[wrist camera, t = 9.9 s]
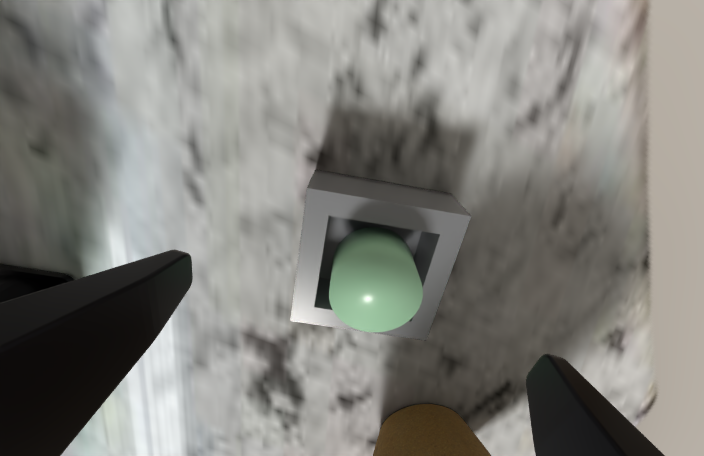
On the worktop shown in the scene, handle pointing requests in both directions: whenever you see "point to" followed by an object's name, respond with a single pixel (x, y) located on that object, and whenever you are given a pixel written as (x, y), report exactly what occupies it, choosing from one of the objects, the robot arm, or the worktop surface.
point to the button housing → (384, 212)
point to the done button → (374, 281)
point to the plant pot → (427, 434)
